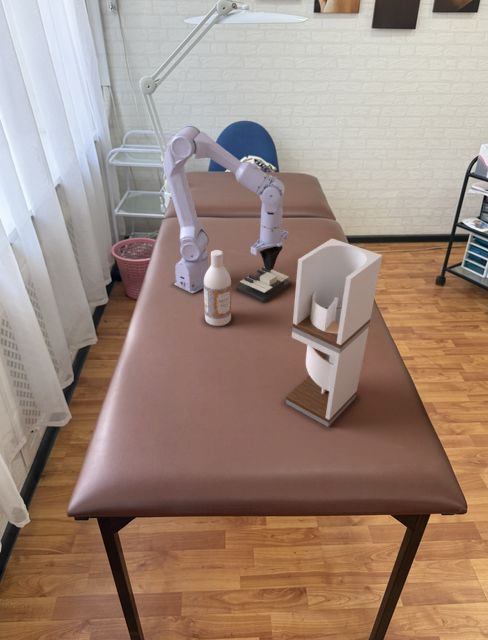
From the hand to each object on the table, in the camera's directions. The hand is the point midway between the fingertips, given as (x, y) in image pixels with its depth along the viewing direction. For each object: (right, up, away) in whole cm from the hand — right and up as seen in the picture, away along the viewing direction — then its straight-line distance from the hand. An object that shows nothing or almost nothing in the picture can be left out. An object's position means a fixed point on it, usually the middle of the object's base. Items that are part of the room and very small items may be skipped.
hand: (269, 268), depth 145 cm
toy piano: (-1, -5, +5) cm, 7 cm away
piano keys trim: (-1, -3, +3) cm, 4 cm away
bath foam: (-14, -15, -9) cm, 22 cm away
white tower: (+10, -32, -34) cm, 48 cm away
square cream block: (0, -4, +3) cm, 5 cm away
